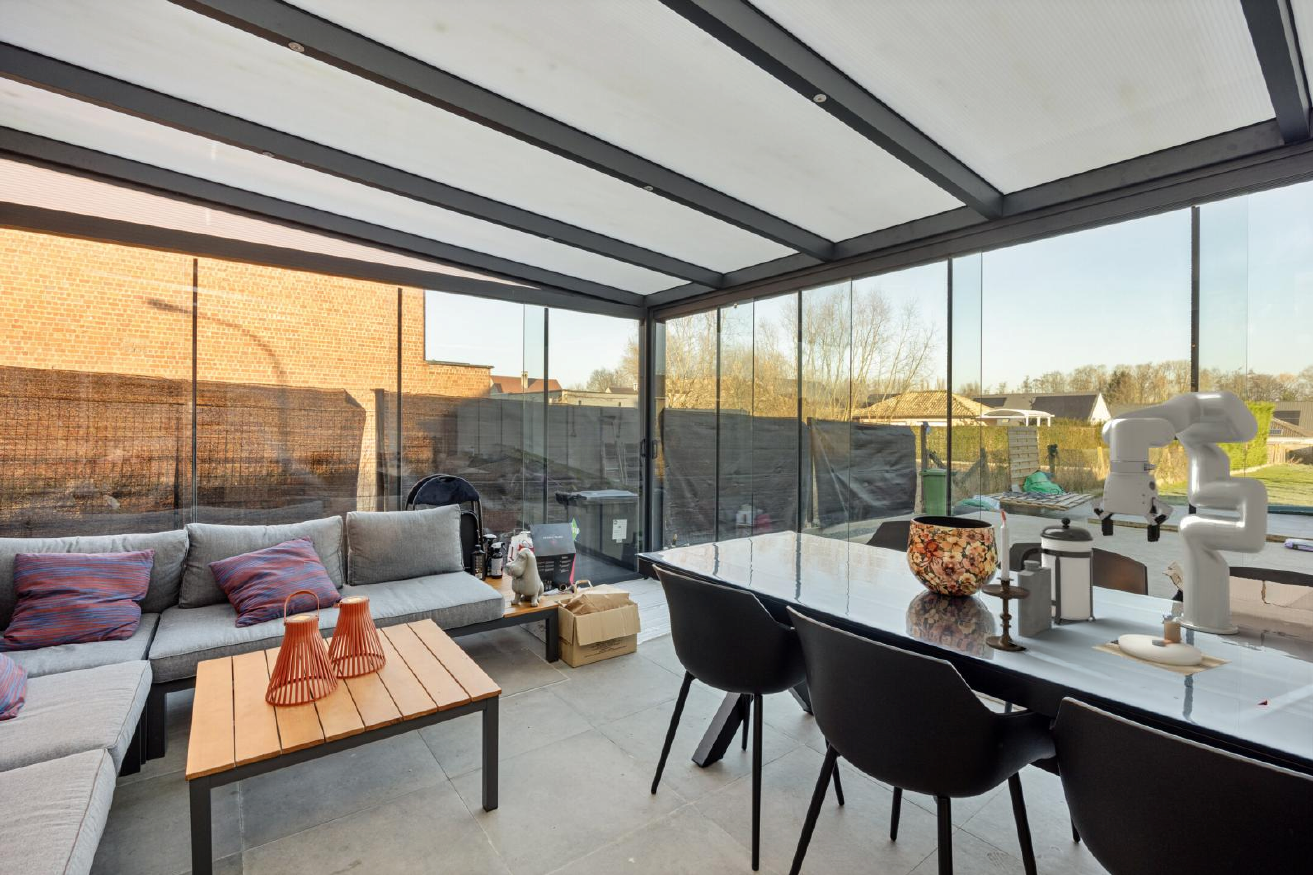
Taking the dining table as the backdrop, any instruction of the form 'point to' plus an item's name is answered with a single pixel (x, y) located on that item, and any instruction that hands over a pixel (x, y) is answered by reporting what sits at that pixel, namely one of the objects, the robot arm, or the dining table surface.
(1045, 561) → the coffee press
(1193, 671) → the dial base
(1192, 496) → the robot arm
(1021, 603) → the hip flask
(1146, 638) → the cream oval with knob
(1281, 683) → the dining table surface
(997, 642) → the candlestick
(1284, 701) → the dining table surface
